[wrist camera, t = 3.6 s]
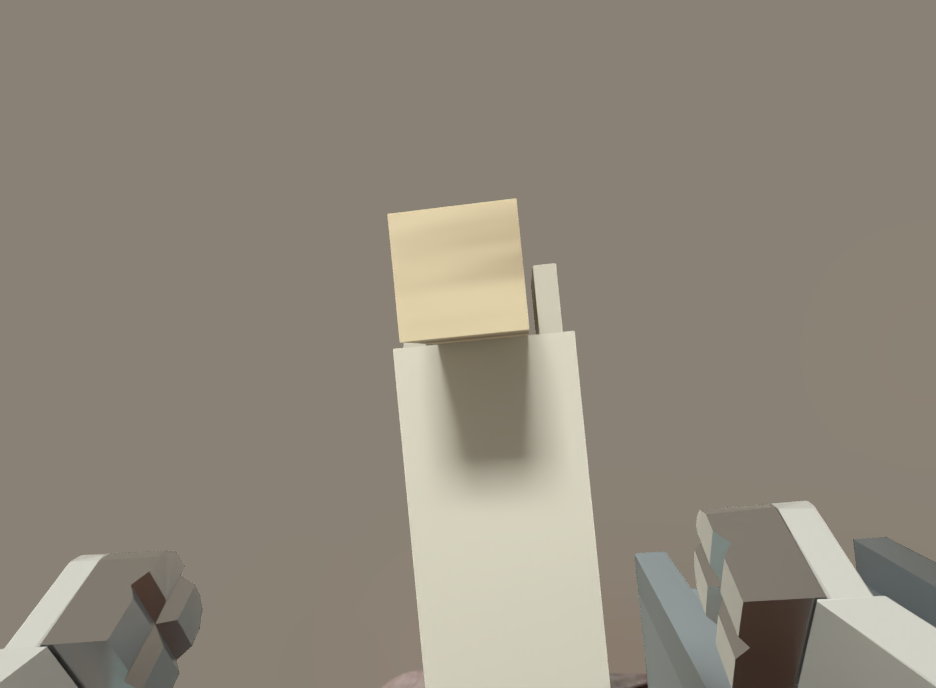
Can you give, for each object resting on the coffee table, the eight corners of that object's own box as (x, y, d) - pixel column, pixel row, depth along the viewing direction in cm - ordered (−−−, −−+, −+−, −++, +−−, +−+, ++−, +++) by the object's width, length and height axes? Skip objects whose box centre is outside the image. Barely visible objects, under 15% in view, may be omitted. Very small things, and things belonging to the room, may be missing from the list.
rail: (464, 346, 39) (458, 283, 39) (527, 339, 38) (521, 277, 38) (399, 342, 19) (387, 214, 19) (529, 329, 18) (516, 198, 18)
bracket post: (467, 804, 34) (418, 297, 35) (609, 800, 34) (557, 282, 34) (449, 942, 26) (386, 281, 27) (635, 941, 26) (567, 261, 26)
